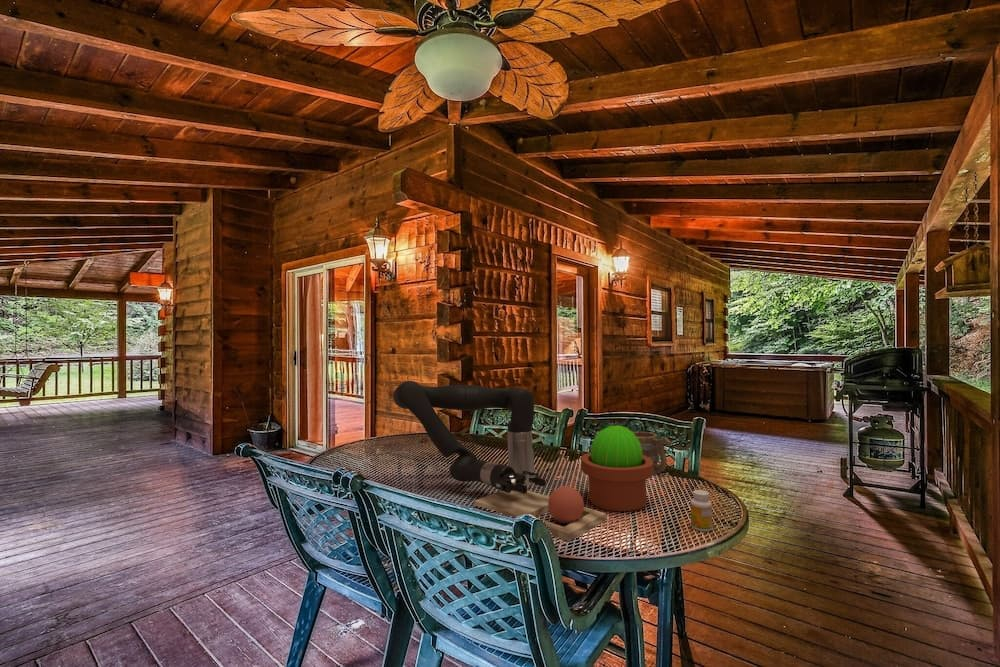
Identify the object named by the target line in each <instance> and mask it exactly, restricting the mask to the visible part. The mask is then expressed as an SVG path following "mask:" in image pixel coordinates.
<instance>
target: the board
mask: <svg viewBox="0 0 1000 667" xmlns="http://www.w3.org/2000/svg"><path fill="white" fill-rule="evenodd" d="M549 497H550V495H548V496H547V495H545V494H542V493H538V492H534V491H531V490H528V489H527V493H526V494H524V493H520V492H517V491H516V492H513V491H511V493H507V492H504V491H501V490H499V491H496V492H494V493H491V494H488V495H486V496H483V497H481V498H478V499H475V500H474V507H475V506H478V507H482V508H488V509H489V510H494V511H496V512H494V513H496V514H499V513H502V515H505V516H512V517H516V516H520V515H522V514H531V515H533V516H535V517H536V518H538V517H539V516H542V515H544V514H546V513H548V512H550V511H549V507H548V501H549ZM481 510H482V511H484V510H483V509H481ZM490 512H491V511H490ZM490 512H489V513H490ZM497 512H499V513H497ZM540 519H541V520H543V521H544V522H545V524H546V526H547V527H548V528H549V530H550V532H551V533H552V535H551V536H553V537H556V538H559V539H561V540H564V541H567V542H571V541H572V540H574V539H577V538H578V537H579V536H581V535H583V534H585V533H586V532H588V531H590V530H592V529H594V528H595V527H597V526H599V525H601V524H602V523H604V522H606V521H607V513H606V512H602V511H599V510H595V509H591V508H589V507H585V506H584V509H583V513H582V515H581V517H580V518H579V519H578V520H576V521H574V522H572V523H570V524H567V525H564V526H562V525H559V524H555V523H553V522H550V521H547V520H544V519H542V518H540Z"/></svg>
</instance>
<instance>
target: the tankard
mask: <svg viewBox="0 0 1000 667" xmlns="http://www.w3.org/2000/svg"><path fill="white" fill-rule="evenodd" d="M632 432H633V433H634V434H635V436H636V437H637V438H638V440H639V442H640V444H641V447H642V452H643V455H644V456H647V457H649V458H650V459H652V461H653V463H654V474H653V476H654V475H658V474H659V475H660V474H661V472H665V470H666V468H667V463H668V462H667V455H666V451H665V445H666V446H670V445H671V443H672V441H670V439H668V437H662V438H659V439H658V434H656V433H654V432H651V431H632ZM643 448H644V449H643ZM659 461H660V464H658V463H659Z"/></svg>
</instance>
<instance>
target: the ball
mask: <svg viewBox="0 0 1000 667" xmlns="http://www.w3.org/2000/svg"><path fill="white" fill-rule="evenodd" d="M548 507H549V511H548V512H549V513H550V515H551V517H552V518H553V519H554V520H556V521H557V523H558V522H559V523H561V524H567V525H569V524H571V523H572V522H574V521H576V520H578V519H580V518H582V517H581V515H582V513H583V509H584V507H585V502H584V498H583V497H582V495H581V493H580V492H579V491H578V490H577V489H575V488H574V487H572V486H568V485H562V486H559V487H557V488H555V489H554V490H553V491H552V492H551V494H550V495H549V501H548Z"/></svg>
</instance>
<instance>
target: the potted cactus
mask: <svg viewBox="0 0 1000 667" xmlns="http://www.w3.org/2000/svg"><path fill="white" fill-rule="evenodd" d="M629 428H630V427H629V426H627V427H626V426H622V425H621V424H618V423H617V425H615V423H612V424H605V425H603V427H601V428H599V429H598V430H597V432H596V435H593V436H594V438H593V439H592V443H591V446H590V452H587V453H583V455H581V457H580V461H581V462H580V470H581V471H582V472H583V473H584V474H585V475H586V476H588V498H589V501H590V502H591V504H592V505H593V506H595V507H597V508H600V509H602V510H606V511H610V512H632V511H637V510H641V509H643V508H644V507H645V506H646V505H647V480H648V479H650V478H652V477H653V476H654V475H653V474H654V463H653V461H652V459H650V458H649V457H647V456H644V455H643V452H642V447H641V444H640V442H639V440H638V438H637V437H636V436H635V434H634V433H633V432H634V431H633V430H630V429H629ZM643 449H644V448H643Z"/></svg>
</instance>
